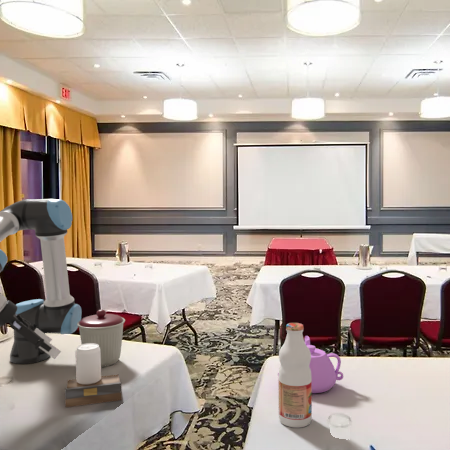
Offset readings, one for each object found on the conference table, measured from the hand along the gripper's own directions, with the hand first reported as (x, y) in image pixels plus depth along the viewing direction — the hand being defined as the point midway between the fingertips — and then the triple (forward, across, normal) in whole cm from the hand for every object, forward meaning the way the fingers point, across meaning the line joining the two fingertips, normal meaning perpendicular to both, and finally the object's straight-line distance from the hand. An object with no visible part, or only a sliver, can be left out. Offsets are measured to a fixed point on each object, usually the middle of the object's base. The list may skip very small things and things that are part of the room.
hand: (53, 348), depth 149 cm
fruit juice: (+51, +52, +27) cm, 78 cm away
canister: (+29, -25, +3) cm, 38 cm away
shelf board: (+20, +2, -4) cm, 21 cm away
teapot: (+67, +34, +42) cm, 86 cm away
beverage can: (+19, -3, -2) cm, 19 cm away
